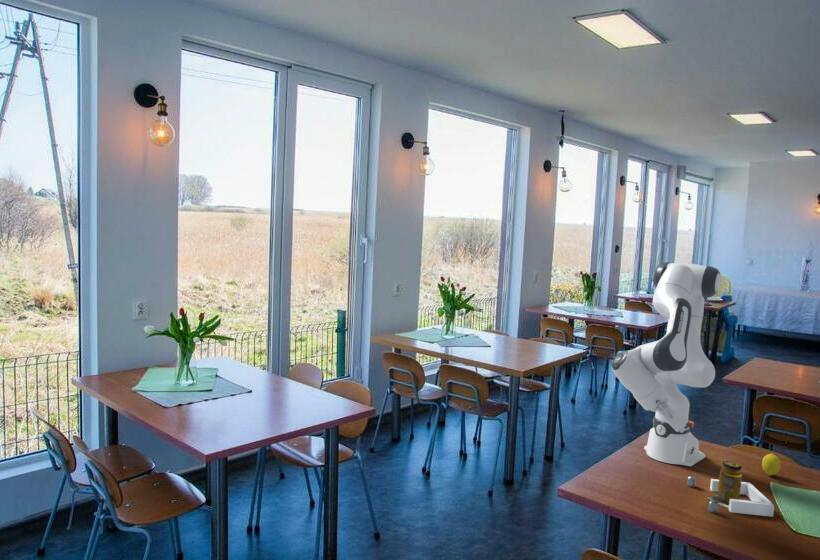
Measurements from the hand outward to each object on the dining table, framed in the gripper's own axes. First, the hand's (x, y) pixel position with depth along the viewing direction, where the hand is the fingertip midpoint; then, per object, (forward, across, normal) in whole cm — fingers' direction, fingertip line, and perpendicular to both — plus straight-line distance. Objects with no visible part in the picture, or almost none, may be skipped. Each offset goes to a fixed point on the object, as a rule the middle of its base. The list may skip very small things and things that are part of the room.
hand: (682, 430), depth 188 cm
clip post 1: (+20, +8, +10) cm, 24 cm away
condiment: (+26, -1, +5) cm, 26 cm away
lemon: (+43, +25, -13) cm, 51 cm away
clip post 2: (+20, -10, +10) cm, 24 cm away
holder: (+28, -1, +1) cm, 28 cm away
